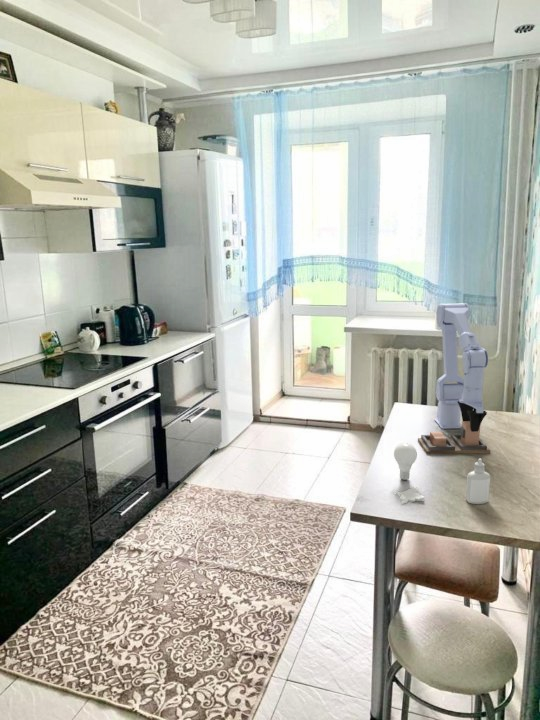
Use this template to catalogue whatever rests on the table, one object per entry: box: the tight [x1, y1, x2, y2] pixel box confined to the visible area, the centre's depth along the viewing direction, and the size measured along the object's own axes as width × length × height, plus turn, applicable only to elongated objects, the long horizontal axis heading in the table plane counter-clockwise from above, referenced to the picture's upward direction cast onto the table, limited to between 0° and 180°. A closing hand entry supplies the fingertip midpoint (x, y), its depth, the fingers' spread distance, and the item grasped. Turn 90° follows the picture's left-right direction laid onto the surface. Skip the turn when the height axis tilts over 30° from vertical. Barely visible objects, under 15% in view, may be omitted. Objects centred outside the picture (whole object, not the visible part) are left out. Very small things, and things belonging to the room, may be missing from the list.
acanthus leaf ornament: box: [394, 487, 425, 505], centre depth 144 cm, size 8×7×2 cm
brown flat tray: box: [417, 431, 491, 455], centre depth 174 cm, size 11×20×4 cm, turn 89°
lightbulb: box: [393, 442, 418, 481], centre depth 152 cm, size 6×6×11 cm
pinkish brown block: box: [459, 420, 481, 445], centre depth 174 cm, size 4×5×7 cm
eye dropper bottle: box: [465, 458, 491, 505], centre depth 139 cm, size 4×6×12 cm
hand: (470, 426), depth 173 cm, fingers open, 7 cm apart
